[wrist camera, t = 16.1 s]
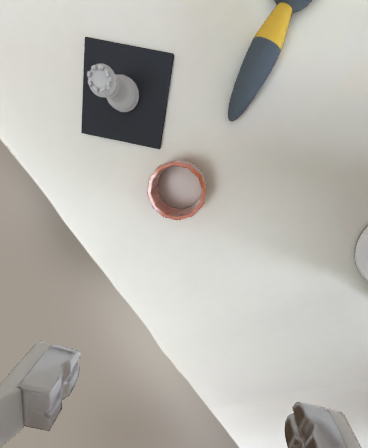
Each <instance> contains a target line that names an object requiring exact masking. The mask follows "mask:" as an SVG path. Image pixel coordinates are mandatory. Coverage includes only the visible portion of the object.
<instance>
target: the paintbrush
mask: <svg viewBox="0 0 368 448" xmlns="http://www.w3.org/2000/svg"><path fill="white" fill-rule="evenodd" d="M311 1H312V0H275V2H276V4H277V6H276V8H275V9H274V10H273V11H272V13H271V14H270V15H269V17H268V18H267V20H266V21H265V22H264V24H263V25H262V27H261V28H260V29H259V31H258V32H257V34H256V35H255V37H254V39H253V41H252V43H251V45H250V47H249V49H248V51H247V54H246V56H245V58H244V61H243V63H242V66H241V68H240V71H239V74H238V76H237V79H236V82H235V85H234V88H233V92H232V95H231V99H230V103H229V109H228V119H229V121H234V120H236V119H237V118H238V117H239V116H240V115H241V114H242V113H243V112H244V111H245V110H246V108H247V107H248V106H249V104H250V103H251V101H252V100H253V99H254V97H255V96H256V94H257V93H258V91H259V90H260V88H261V86H262V85H263V83H264V82H265V80H266V78H267V76H268V75H269V73H270V71H271V69H272V68H273V66H274V64H275V62H276V60H277V58H278V56H279V54H280V52H281V49H282V46H283V43H284V39H285V36H286V33H287V29H288V26H289V22H290V18H291V14H292V13H294V12H297V11H299V10H301V9H303V8H304V7H306V6H307V5H308V4H309V3H310V2H311Z"/></svg>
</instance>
